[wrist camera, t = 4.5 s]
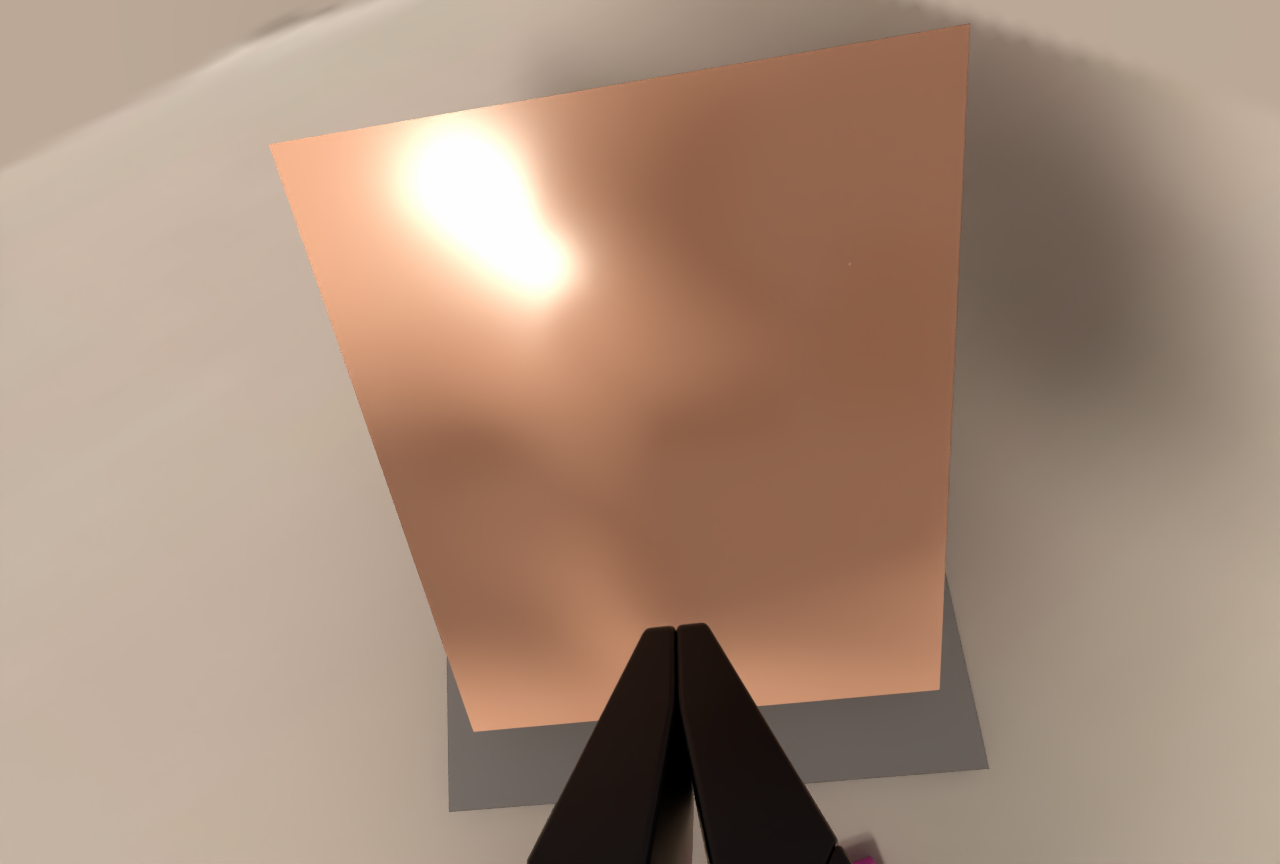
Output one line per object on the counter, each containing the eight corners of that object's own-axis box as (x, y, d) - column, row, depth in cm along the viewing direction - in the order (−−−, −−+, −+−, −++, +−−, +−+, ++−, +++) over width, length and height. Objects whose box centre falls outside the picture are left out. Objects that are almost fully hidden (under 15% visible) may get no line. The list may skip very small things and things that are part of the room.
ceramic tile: (939, 689, 14) (970, 23, 9) (473, 731, 15) (269, 144, 10) (912, 636, 15) (926, 38, 10) (490, 677, 16) (319, 143, 11)
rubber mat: (981, 764, 15) (989, 769, 14) (455, 807, 16) (449, 811, 15) (834, 99, 20) (836, 89, 19) (444, 164, 21) (439, 155, 20)
